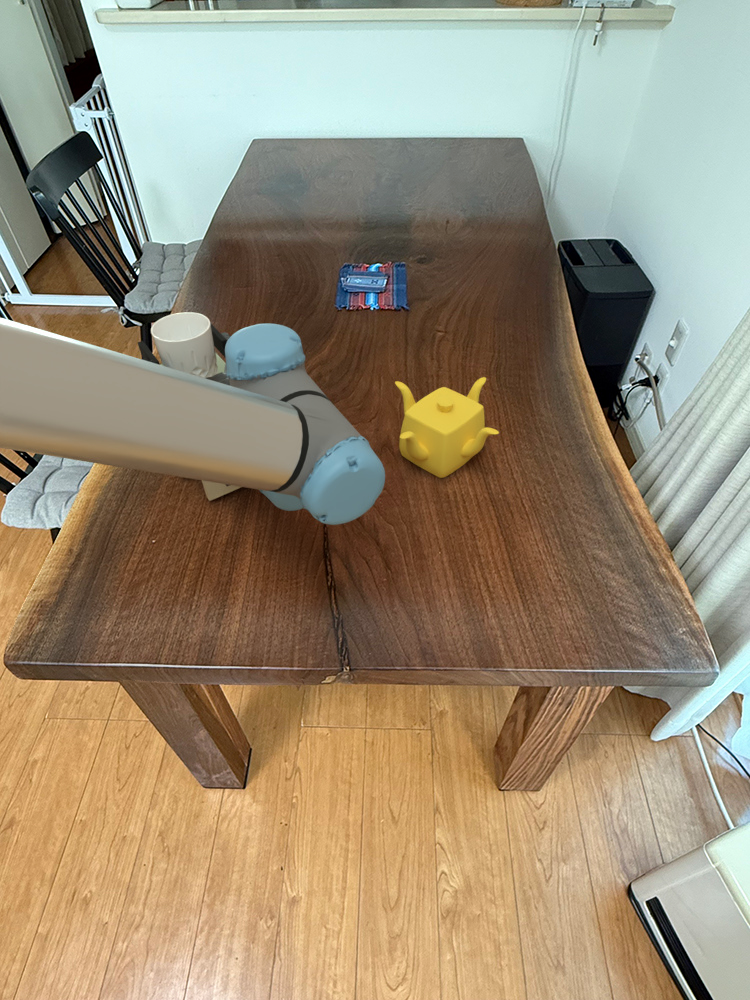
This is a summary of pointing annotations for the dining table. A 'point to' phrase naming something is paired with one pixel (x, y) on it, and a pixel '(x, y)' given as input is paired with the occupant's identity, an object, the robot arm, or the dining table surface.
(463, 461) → the teapot
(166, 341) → the white cup
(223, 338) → the robot arm
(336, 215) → the dining table surface
